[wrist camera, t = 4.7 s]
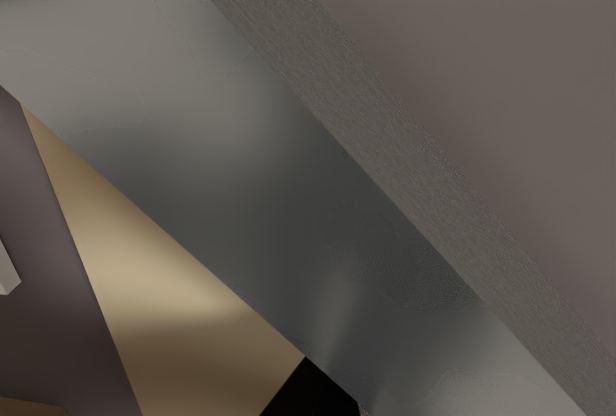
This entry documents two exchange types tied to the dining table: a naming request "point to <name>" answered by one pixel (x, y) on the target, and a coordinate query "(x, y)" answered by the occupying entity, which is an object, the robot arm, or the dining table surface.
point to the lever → (309, 198)
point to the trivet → (7, 273)
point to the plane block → (164, 302)
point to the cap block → (28, 408)
